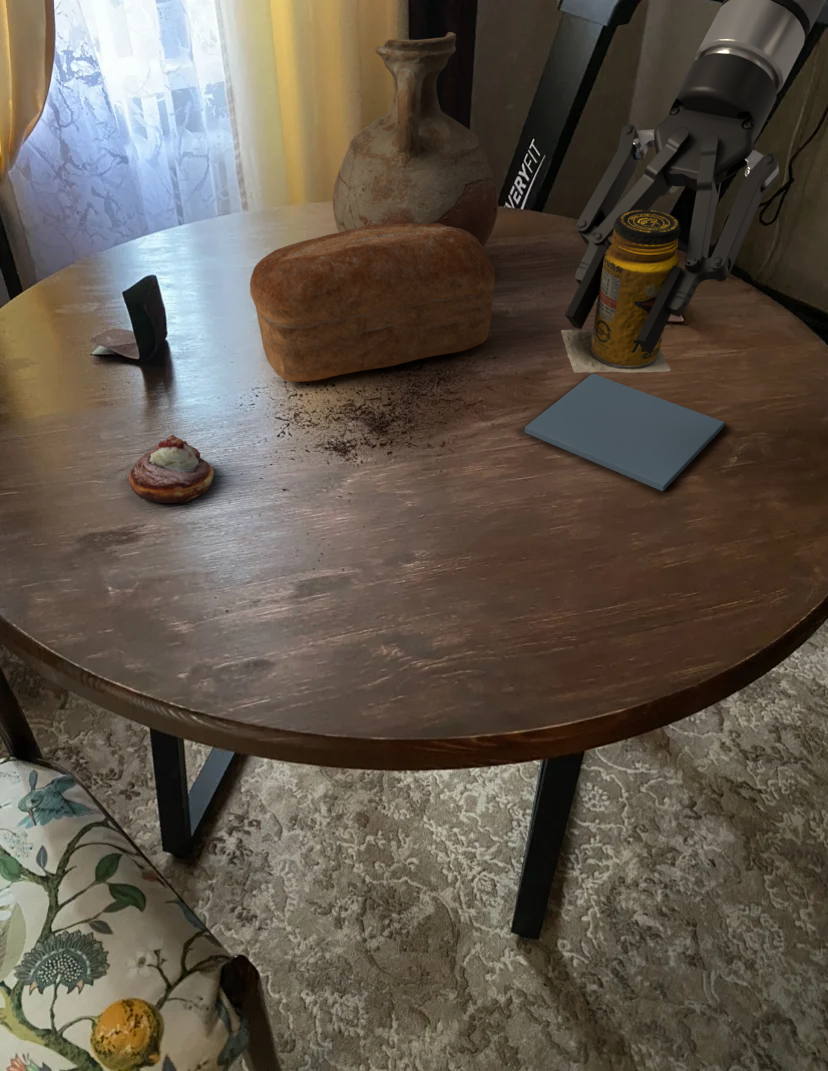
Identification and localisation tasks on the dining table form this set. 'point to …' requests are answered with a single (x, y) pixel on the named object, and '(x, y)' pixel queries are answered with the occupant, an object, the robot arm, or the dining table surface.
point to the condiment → (627, 296)
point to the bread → (372, 299)
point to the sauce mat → (626, 430)
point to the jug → (416, 155)
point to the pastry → (171, 473)
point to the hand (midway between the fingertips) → (608, 333)
